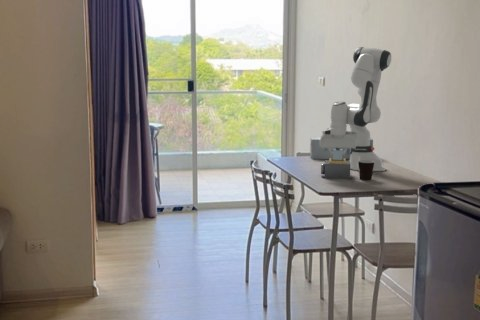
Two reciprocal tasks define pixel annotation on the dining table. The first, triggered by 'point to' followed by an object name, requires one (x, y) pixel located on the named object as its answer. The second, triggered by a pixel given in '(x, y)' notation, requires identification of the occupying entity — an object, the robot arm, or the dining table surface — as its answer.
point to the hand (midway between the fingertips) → (337, 155)
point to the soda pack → (326, 150)
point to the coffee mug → (365, 169)
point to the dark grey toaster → (336, 168)
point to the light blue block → (337, 154)
